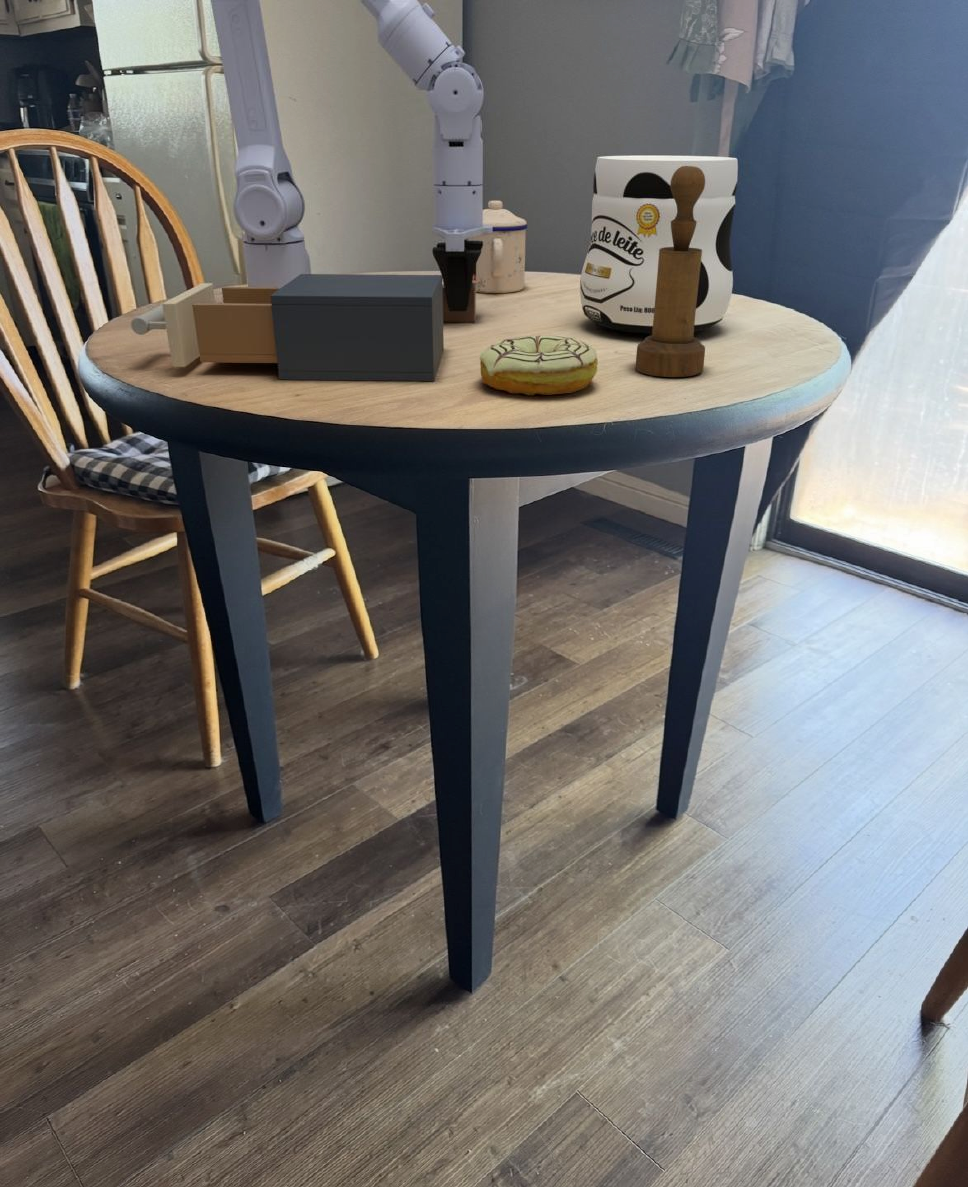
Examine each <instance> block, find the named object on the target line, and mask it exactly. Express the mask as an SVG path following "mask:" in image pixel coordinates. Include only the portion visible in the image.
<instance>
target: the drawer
mask: <svg viewBox="0 0 968 1187" xmlns="http://www.w3.org/2000/svg"><path fill="white" fill-rule="evenodd" d="M280 288H282V287H248V286H222V287H221V294H222V301H223V302H221V303H220V302H216V298H215V291H214V290H215V289H214V283H211V282H201V283H200V284H197V285H195V286H193V287H192V288H190V289H188V290H186V291H183V292H182V293H180V294H178V295H176V296H173V297H172V298H170V299H168V300H166V301H165V302H163V303H161V304H160V305H157V306H155V307H154V308H152V309H149V310H148V311H146V312H144V313H142V314H140V315H138V316H136V317H135V318H133V319H132V320H131V321H130V328H131V329H132V331H133V333H135V334H137V335H139V336H143V335H145V334H147V333H149V332H151V331H152V330H166V335H167V341H168V347H169V348H168V349H169V353H170V360H171V365H172V367H173V368H186V366H187V367H188V365H189V364H191V363H192V362H193V361H195V360H196V359H197V358H199V360H200V363H223V364H225V363H226V364H227V363H230V364H231V363H232V364H233V363H234V364H237V363H238V364H278V363H277V353H276V344H275V335H274V326H273V316H272V307H271V305H272V304H271V298H270V295H272V294H273V293H275V292H276V291H278V290H279V289H280Z"/></svg>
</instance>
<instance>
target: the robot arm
mask: <svg viewBox="0 0 968 1187" xmlns="http://www.w3.org/2000/svg"><path fill="white" fill-rule="evenodd" d="M359 2H360V3H361V4H362V5H363V6H364V7H365V9H366V10H367V11H368V12H369V13H370V14H371V15H372V16H373V17H374V19H375V20H376V25H377V43H378V44H379V45H380V46H381V47H382V49H383V50H384V51H385V52H386V53H387V54H388V56H390V58H391V59H392V60H393V61H394V63H395V64H396V65H397V66H398V67H399V68H400V70H401V71H402V72H403V73H404V75H405V76H406V77H407V79H409V81H411V83H412V84H413V85H414V86H415V88H416V89H417V90H418V91H426V92H427V100H428V103H429V106H430V108H431V111H432V112H433V113H434V115H433V139H432V141H431V146H432V151H431V152H432V188H433V189H432V192H433V194H432V195H433V201H432V202H433V225H432V227H431V228H432V235H434V236H437V237H439V238H442V239H445V242H437V244H436V246H434V247H432V251H431V252H432V256H433V258H434V260H435V262H436V263H437V267H438V269H439V272H440V275H442V284H443V283H444V288H445V294H446V299H447V304H448V308H449V311H467V307H468V303H469V297H470V290H471V283H472V282H473V275H474V269H475V266H476V263H477V261H478V258H479V256H480V254H481V249H482V247H483V241H468V240H469V238H471V237H475V236H478V235H482V234H484V233H492V231H493V226H489V225H483V210H484V209H483V208H484V206H483V204H484V202H483V201H484V200H483V199H484V198H483V197H484V196H483V195H484V194H483V193H484V185H483V184H484V141H483V138H482V137H481V136H482V132H483V122H482V119H481V118H482V117H481V115H477V114H479V112H480V110H481V108H482V106H483V103H484V97H485V91H484V86H483V83H482V80H481V78H480V76H479V75H478V73H477V72H476V69H475V68H474V67H473V66H472V65H470V64H468V63H464V62H461V61H462V59H463V58H464V56H465V55H466V52H465V51H464V49H463V48H462V46H461V45H457V46H456V47H455V45H454V44H453V43H452V41H451V40H450V39H449V38H448V37H447V35H446V34H445V33H444V32H443V30H442V29H441V28H440V27H439V25H438V24H437V23H436V21H435V20H434V19H433V18H434V17H435V15H436V14H435V11H434V10H433V8H432V7H431V6H430V5H429V4H428V3H427V2H425V3H424V4H423V5H422V4H421V3H420V2H419V1H418V0H359ZM210 5H211V10H212V16H213V21H214V27H215V32H216V37H217V38H216V39H217V41H218V43H217V44H218V49H219V55H220V59H221V65H222V69H223V70H222V71H223V76H224V82H225V86H226V92H227V97H228V102H229V108H230V113H231V114H230V115H231V120H232V125H233V130H234V136H235V140H236V146H237V156H236V161H235V166H234V176H235V182H236V183H235V184H236V190H235V194H234V198H233V204H232V210H233V211H232V212H233V216H234V218H235V221H236V224H237V225H238V227H239V228H240V229H241V230H242V231H243V233H242V234H241V239H242V248H243V256H244V265H245V271H246V280H247V287H283V286H285V285H286V284H287V283H289V282H290V281H292V280H293V279H294V278H296V277H297V276H299V275H300V274H312V268H311V267H312V266H311V259H310V255H309V253H308V251H307V249H306V242H305V234H304V233H303V232H302V231H301V229H300V227H299V225H300V224H301V223H302V221H303V219H304V216H305V212H306V201H305V198H304V195H303V192H302V190H301V189H300V188H299V186H298V185H297V183H296V181H295V178H294V176H293V171H292V165H291V162H290V159H289V158H288V156H287V153H286V151H285V148H284V145H283V143H284V142H283V138H282V132H281V125H280V119H279V113H278V106H277V100H276V95H275V89H274V83H273V78H272V77H273V75H272V70H271V64H270V58H269V50H268V46H267V39H266V32H265V27H264V20H263V14H262V7H261V0H210Z"/></svg>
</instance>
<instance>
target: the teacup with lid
mask: <svg viewBox="0 0 968 1187" xmlns="http://www.w3.org/2000/svg"><path fill="white" fill-rule="evenodd" d="M503 204H504V203H503V202H502V201H501V200H489V201H488V203H487V208H485V209H483V225H489V226H493V231H492V233H484V234H482V235H478V236H475V237H471V238H469V240H468V241H483V247H482V249H481V254H480V256H479V258H478V261H477V263H476V266H475V269H474V275H473V282H472V283H476V293H481V294H508V293H516V292H519V291H522V290H523V289H524V288H525V276H526V275H525V271H526V270H525V269H526V268H525V267H526V237H527V236H526V229H527V228H528V225H527V224H528V222H527V221H526V220H525V219H524V218H522V217H519V216H518V215H517V216H516V215H515V214H514V213H513V212H511V211H510V210H508V209H505V208H503Z"/></svg>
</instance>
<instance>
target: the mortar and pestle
mask: <svg viewBox="0 0 968 1187" xmlns="http://www.w3.org/2000/svg"><path fill="white" fill-rule="evenodd" d="M704 187H705V176H704V173H703V172H702V170H701V169H700V168H698V167H693V166H682V167H680V168H678V169H677V170H676V171H675V173H674V174H673V176H672V179H671V184H670V188H671V192H672V195H673V197H674V200H675V202H676V205H677V215H676V217H675V219H674V220H672V221H671V232H672V239H673V245H674V247H665V248H660V249H659V260H658V273H657V284H656V296H655V307H654V319H653V331H652V334H651V335H649V336H646V337H645V338H644V340H643V341H641V342H639V344H637V347H636V355H635V370H636V372H639V373H641V374H644V375H647V376H653V377H664V378H685V377H693V376H695V375H701V373H703V371H704V367H705V366H704V365H705V357H706V356H705V354H706V347H705V345H703V343H701V341H700V340H699V339H698V338H696V337H694V333H695V331H694V323H695V313H696V302H697V293H698V283H699V274H700V266H701V257H702V250H701V249H697V248H689V245H690V242H691V240H692V237H693V234H694V231H695V228H696V223H697V222H696V221H695V220H694V217H693V208H694V205H695V204H696V202H697V200H698V199H699V197H700V196H701V194H702V192H703V190H704Z"/></svg>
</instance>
